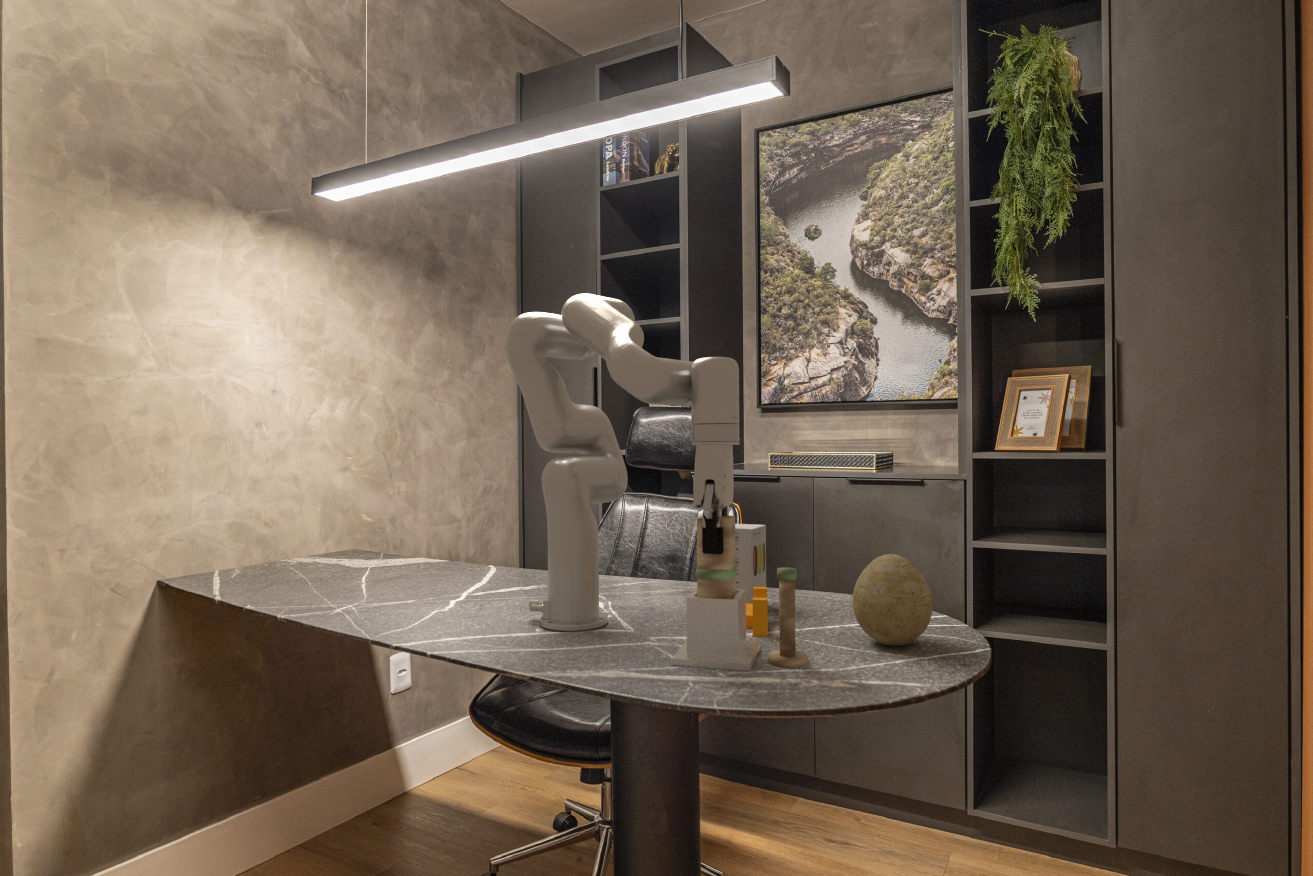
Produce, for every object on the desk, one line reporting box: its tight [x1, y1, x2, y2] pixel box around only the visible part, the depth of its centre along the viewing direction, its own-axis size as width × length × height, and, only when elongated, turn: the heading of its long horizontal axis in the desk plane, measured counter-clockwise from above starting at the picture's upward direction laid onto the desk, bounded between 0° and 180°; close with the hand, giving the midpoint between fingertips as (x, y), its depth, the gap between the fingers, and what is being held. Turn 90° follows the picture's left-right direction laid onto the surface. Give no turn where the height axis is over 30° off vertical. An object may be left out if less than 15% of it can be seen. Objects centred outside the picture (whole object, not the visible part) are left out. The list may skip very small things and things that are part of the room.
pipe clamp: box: [746, 586, 769, 638], centre depth 137 cm, size 12×4×6 cm, turn 172°
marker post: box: [767, 567, 809, 669], centre depth 115 cm, size 6×6×14 cm
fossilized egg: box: [852, 553, 934, 647], centre depth 125 cm, size 13×13×15 cm
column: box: [695, 515, 737, 598], centre depth 118 cm, size 6×6×15 cm
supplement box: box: [735, 523, 767, 604], centre depth 153 cm, size 10×9×17 cm
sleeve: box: [670, 587, 761, 672], centre depth 118 cm, size 12×12×10 cm
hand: (716, 549), depth 118 cm, fingers closed on column, 5 cm apart
